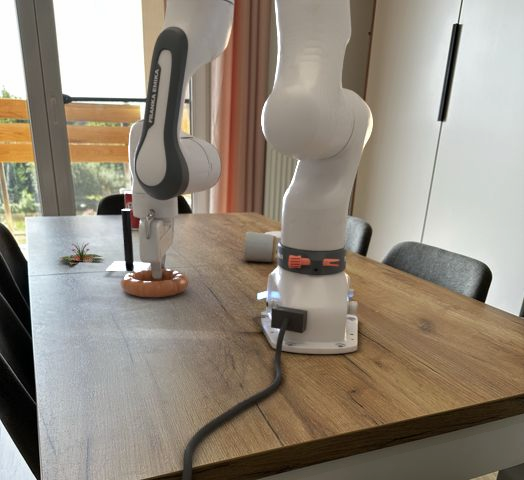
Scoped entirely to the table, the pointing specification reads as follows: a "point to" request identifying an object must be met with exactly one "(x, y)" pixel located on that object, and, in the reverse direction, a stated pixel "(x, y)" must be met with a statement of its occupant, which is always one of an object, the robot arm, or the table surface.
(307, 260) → the robot arm
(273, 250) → the ceramic mug
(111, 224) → the table surface
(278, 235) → the ramekin
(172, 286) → the ring
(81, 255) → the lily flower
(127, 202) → the soda can
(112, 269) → the stand
